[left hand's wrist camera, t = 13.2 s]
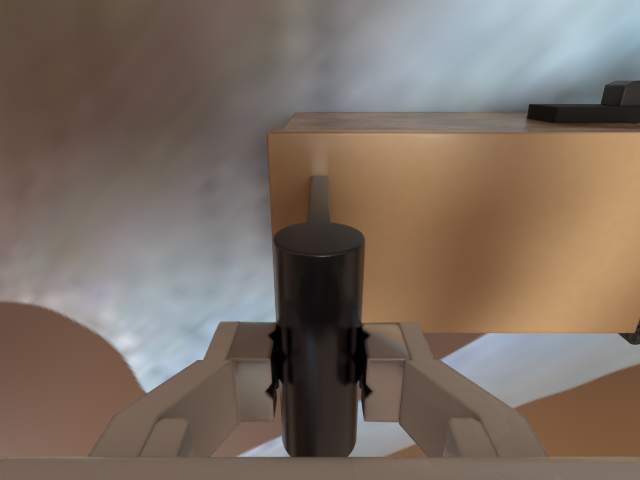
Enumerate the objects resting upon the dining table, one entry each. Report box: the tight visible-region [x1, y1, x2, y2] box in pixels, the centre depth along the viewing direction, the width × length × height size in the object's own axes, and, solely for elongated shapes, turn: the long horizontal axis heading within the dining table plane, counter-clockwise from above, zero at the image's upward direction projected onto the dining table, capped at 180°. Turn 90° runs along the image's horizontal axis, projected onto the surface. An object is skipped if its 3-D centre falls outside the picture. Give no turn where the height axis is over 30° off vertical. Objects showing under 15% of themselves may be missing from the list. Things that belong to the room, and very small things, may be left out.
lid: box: [267, 129, 640, 457], centre depth 14 cm, size 17×9×10 cm, turn 90°
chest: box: [283, 112, 640, 129], centre depth 23 cm, size 17×9×10 cm, turn 90°
